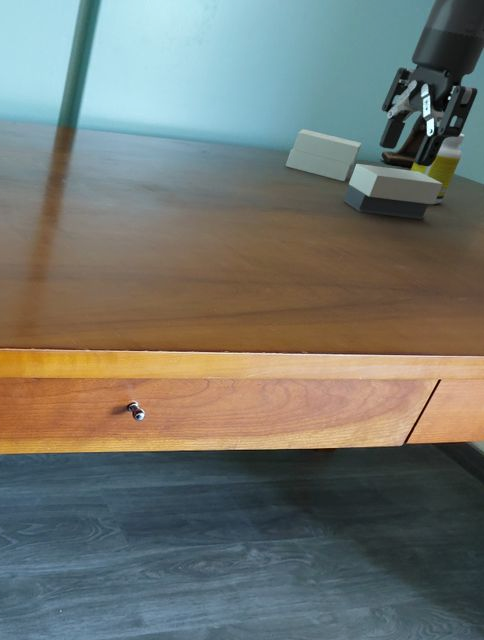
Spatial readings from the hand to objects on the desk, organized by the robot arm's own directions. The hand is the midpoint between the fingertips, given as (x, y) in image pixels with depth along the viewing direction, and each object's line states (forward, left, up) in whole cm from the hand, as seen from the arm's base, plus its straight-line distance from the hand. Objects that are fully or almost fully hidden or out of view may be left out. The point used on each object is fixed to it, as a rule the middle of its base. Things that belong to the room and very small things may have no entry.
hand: (403, 156), depth 100 cm
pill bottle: (-11, -21, -10) cm, 25 cm away
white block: (0, 0, -5) cm, 5 cm away
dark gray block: (0, 0, -9) cm, 9 cm away
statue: (-13, -48, -10) cm, 51 cm away
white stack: (+6, -25, -9) cm, 27 cm away
